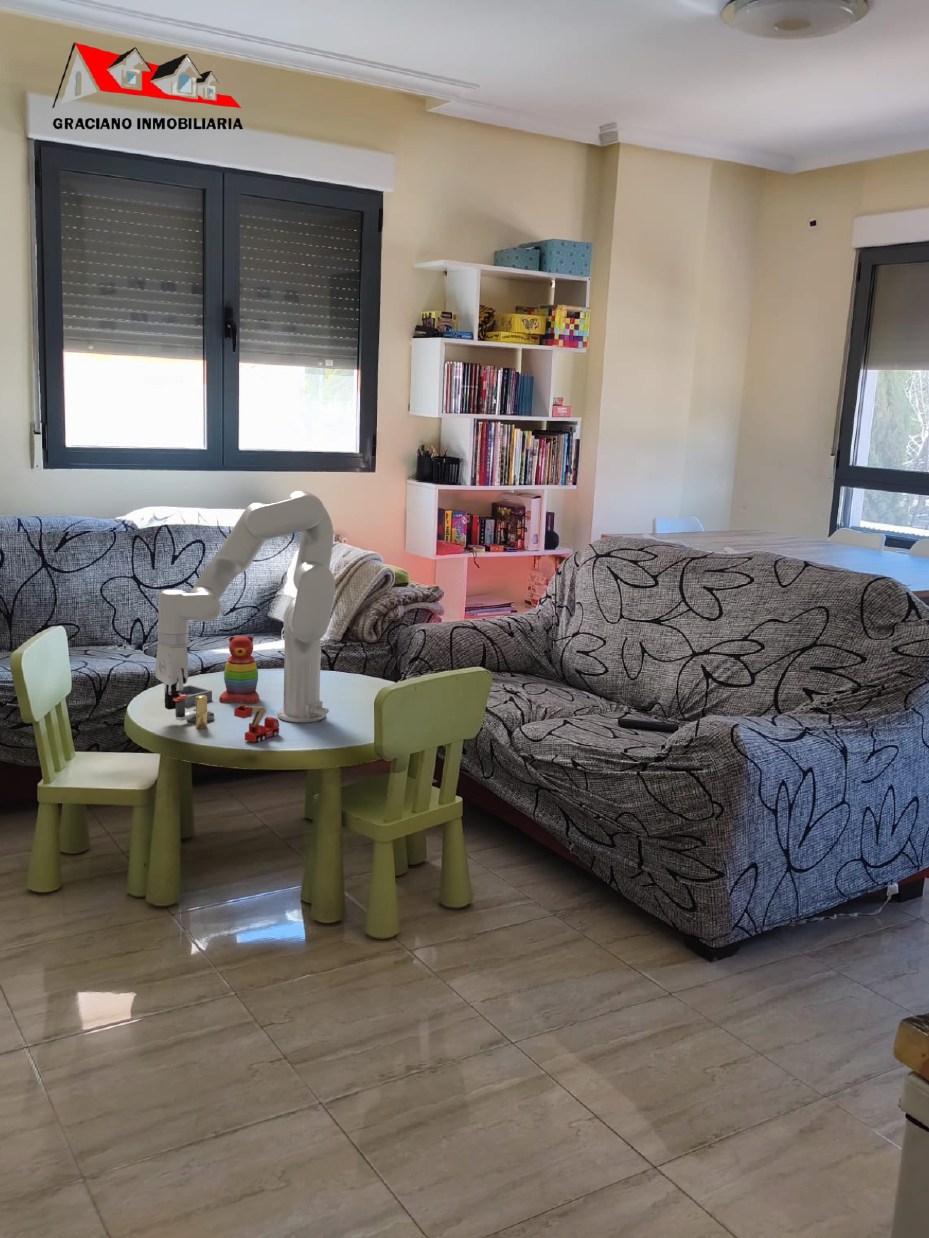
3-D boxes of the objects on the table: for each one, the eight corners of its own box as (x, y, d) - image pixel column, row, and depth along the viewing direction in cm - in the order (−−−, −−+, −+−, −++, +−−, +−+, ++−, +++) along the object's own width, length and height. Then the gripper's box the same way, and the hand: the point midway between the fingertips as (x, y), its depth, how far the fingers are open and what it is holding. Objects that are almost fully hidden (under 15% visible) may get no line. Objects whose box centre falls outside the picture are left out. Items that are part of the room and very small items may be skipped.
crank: (200, 711, 287) (200, 688, 285) (210, 713, 285) (210, 690, 284) (169, 720, 278) (169, 696, 276) (179, 722, 276) (179, 699, 275)
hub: (219, 718, 285) (219, 714, 285) (199, 724, 280) (199, 720, 279) (201, 713, 289) (201, 709, 289) (180, 719, 284) (180, 714, 283)
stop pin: (209, 726, 278) (209, 696, 277) (201, 729, 276) (200, 698, 274) (202, 724, 280) (201, 694, 278) (193, 727, 277) (193, 696, 276)
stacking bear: (217, 702, 300) (218, 639, 297) (224, 692, 310) (224, 631, 307) (257, 704, 301) (258, 641, 297) (262, 694, 311) (263, 633, 307)
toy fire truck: (280, 734, 275) (281, 697, 273) (243, 747, 264) (244, 709, 262) (270, 732, 277) (271, 695, 275) (233, 745, 265) (233, 706, 263)
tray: (212, 699, 303) (212, 690, 302) (186, 706, 295) (186, 696, 295) (189, 693, 308) (189, 684, 307) (164, 699, 300) (164, 690, 300)
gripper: (147, 633, 280) (146, 702, 283) (171, 646, 269) (170, 717, 272) (174, 631, 285) (173, 699, 288) (200, 643, 273) (198, 714, 277)
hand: (172, 708), depth 280 cm, fingers closed
